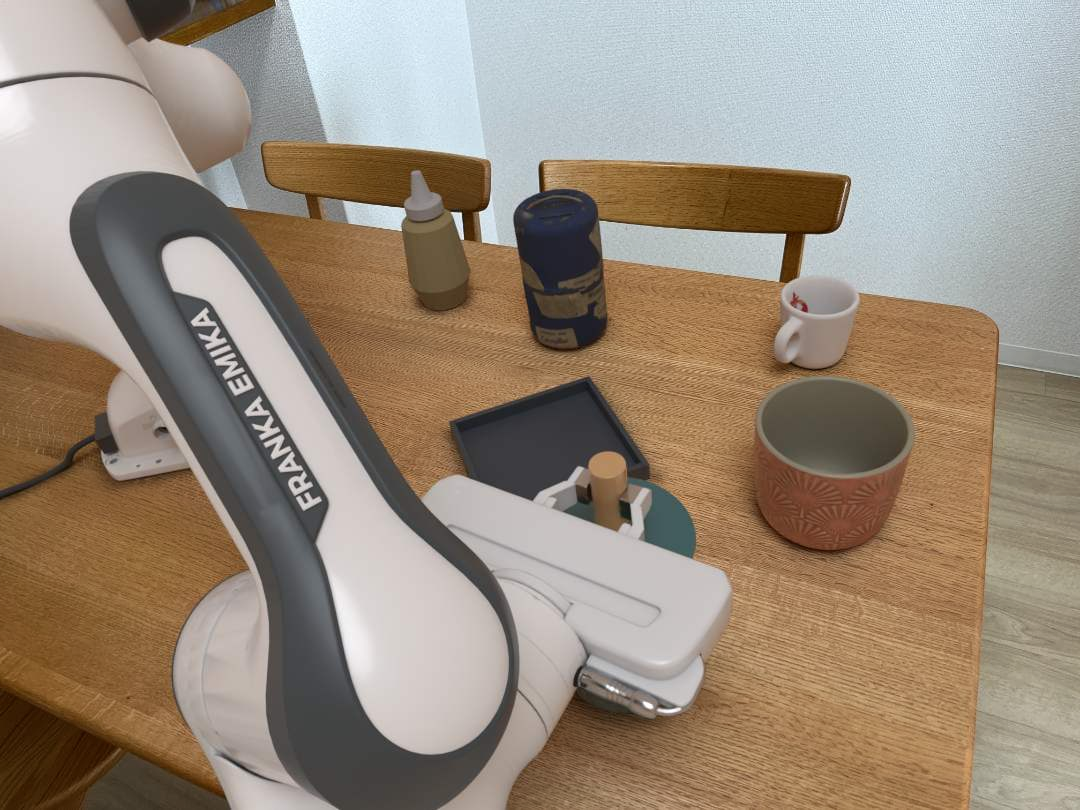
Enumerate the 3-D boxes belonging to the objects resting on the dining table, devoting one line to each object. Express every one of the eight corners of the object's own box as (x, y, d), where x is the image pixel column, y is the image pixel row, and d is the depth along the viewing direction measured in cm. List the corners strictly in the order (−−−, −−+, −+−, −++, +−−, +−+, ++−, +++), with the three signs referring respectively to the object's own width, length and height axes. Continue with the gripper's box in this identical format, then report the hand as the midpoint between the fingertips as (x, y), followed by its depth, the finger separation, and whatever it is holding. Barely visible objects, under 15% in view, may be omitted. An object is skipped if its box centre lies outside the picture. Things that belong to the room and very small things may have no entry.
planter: (904, 570, 67) (929, 480, 60) (751, 562, 70) (758, 474, 63) (881, 464, 77) (901, 375, 69) (746, 460, 79) (752, 374, 72)
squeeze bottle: (442, 277, 112) (413, 153, 100) (487, 291, 108) (463, 163, 96) (403, 307, 107) (368, 181, 96) (448, 322, 103) (417, 193, 92)
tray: (493, 534, 76) (489, 520, 75) (452, 434, 87) (448, 421, 86) (650, 478, 79) (649, 464, 77) (590, 389, 90) (589, 375, 89)
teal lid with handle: (568, 639, 51) (555, 559, 46) (513, 517, 59) (496, 436, 54) (726, 579, 53) (731, 495, 48) (652, 468, 61) (649, 386, 56)
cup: (806, 400, 84) (813, 339, 79) (744, 369, 89) (747, 310, 84) (864, 351, 89) (875, 291, 84) (803, 325, 94) (809, 266, 89)
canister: (602, 356, 94) (590, 217, 82) (523, 354, 96) (501, 218, 85) (613, 309, 101) (603, 175, 89) (539, 308, 103) (520, 177, 92)
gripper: (680, 701, 38) (774, 500, 47) (352, 554, 47) (481, 408, 56) (680, 762, 42) (766, 567, 51) (379, 616, 51) (495, 472, 60)
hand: (615, 483), depth 53 cm, fingers closed on teal lid with handle, 2 cm apart
